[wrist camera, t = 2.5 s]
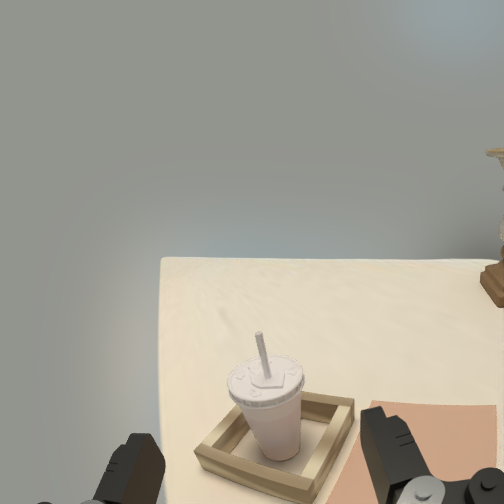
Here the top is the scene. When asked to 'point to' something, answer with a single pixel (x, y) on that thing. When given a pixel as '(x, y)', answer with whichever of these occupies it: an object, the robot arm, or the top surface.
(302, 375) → the smoothie
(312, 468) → the square wooden tray
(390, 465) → the robot arm
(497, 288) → the candle holder
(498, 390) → the top surface
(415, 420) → the tile
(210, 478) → the top surface
